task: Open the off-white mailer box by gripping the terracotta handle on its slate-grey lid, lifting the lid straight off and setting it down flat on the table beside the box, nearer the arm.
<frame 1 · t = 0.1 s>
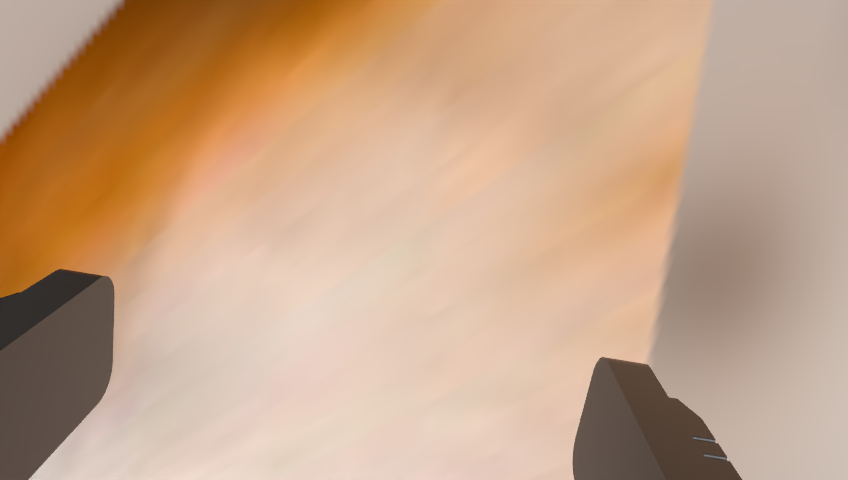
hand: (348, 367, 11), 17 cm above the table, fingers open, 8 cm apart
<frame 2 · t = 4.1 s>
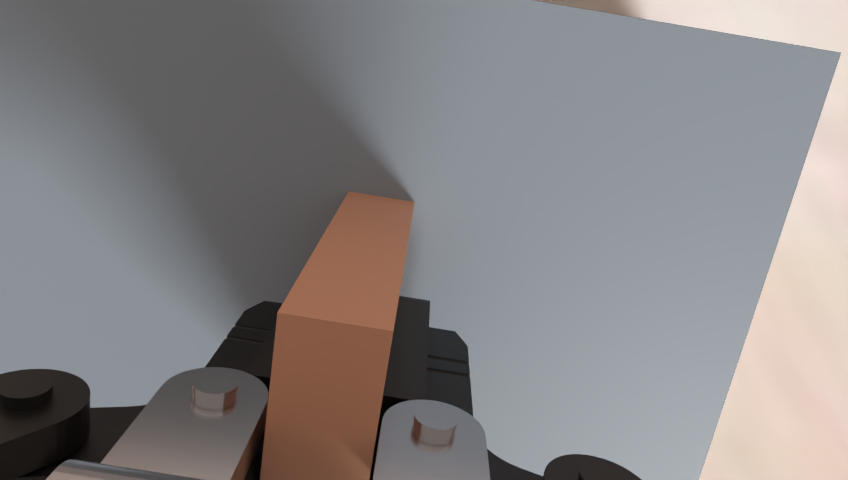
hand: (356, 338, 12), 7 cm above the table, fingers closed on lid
lid: (374, 283, 15), point 5 cm above the table, touching gripper
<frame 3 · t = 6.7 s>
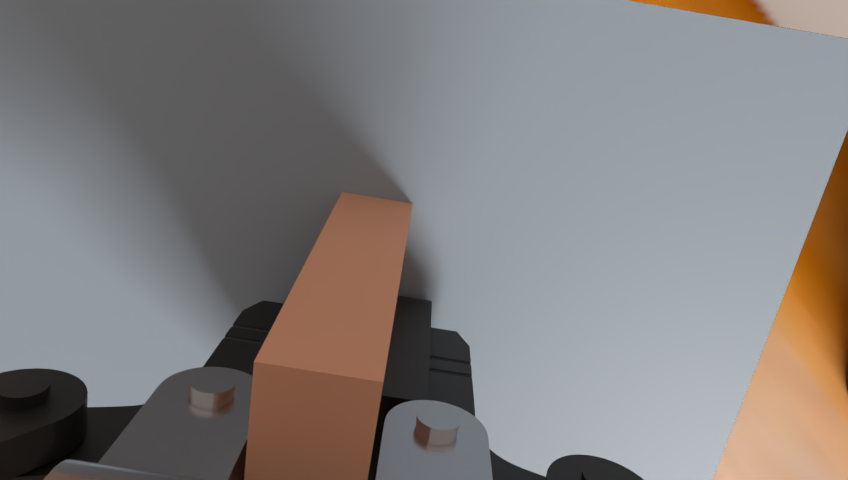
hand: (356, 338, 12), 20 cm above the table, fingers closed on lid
lid: (370, 281, 14), point 18 cm above the table, touching gripper
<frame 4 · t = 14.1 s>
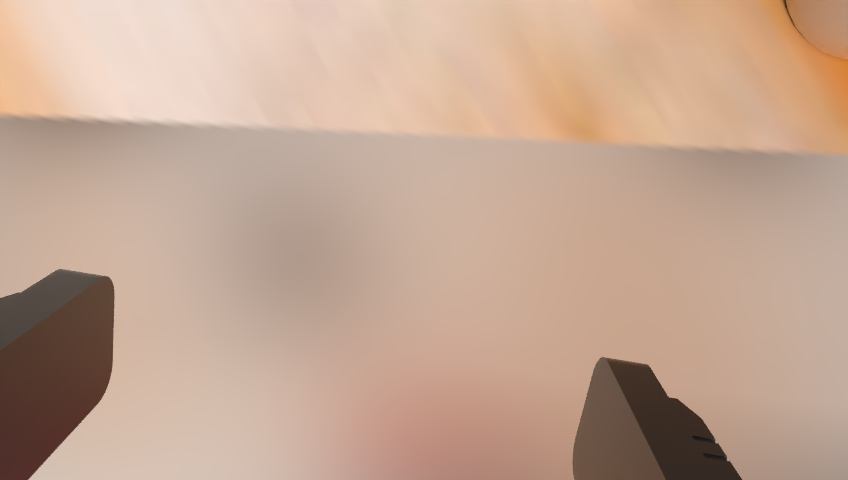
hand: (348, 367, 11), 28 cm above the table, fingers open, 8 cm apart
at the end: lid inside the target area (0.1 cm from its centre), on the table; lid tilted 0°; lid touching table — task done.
